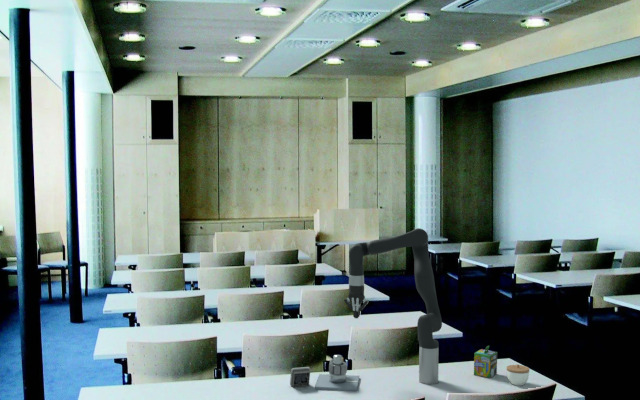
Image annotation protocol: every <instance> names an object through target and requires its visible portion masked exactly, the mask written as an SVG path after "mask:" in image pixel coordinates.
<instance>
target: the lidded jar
mask: <svg viewBox="0 0 640 400" xmlns="http://www.w3.org/2000/svg"><path fill="white" fill-rule="evenodd" d="M529 376H530V367H528V366H525V365H520V364H511V365H507V366H506V377H507V379H508V381H509V382H510V384H512V385H514V386H517V387H518V386H524V385H525V384H526V383H527V382H528V381H529Z"/></svg>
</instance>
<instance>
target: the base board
mask: <svg viewBox="0 0 640 400" xmlns="http://www.w3.org/2000/svg"><path fill="white" fill-rule="evenodd" d="M330 362H333V358H329V363H330ZM359 381H360V375H355V374H354V375H351V374H350V375H347V374H346V382H345V383H341V384H335V383H331V382H329V374H325V373H324V374H323V373H321V374H320V373H319V374H318V377H317V379H316V382H315V385H314V390H321V391H322V390H324V391H325V390H326V391H344V390H346V391H347V390H348V391H349V392H357V391H358V387H359Z"/></svg>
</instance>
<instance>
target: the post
mask: <svg viewBox="0 0 640 400" xmlns="http://www.w3.org/2000/svg"><path fill="white" fill-rule="evenodd" d="M332 357H333V358H332V359H333V365H342V357H343V355H341V354H334V355H333V356H332ZM328 373H329V372H328ZM328 375H329V382H331V383H335V384H341V383H345V382H346V375H347V373H345V374H332V373H329V374H328Z"/></svg>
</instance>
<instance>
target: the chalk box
mask: <svg viewBox="0 0 640 400" xmlns="http://www.w3.org/2000/svg"><path fill="white" fill-rule="evenodd" d="M489 349H490V345H487V346H486V347H485V349H483V348H481V349H479V350H477V351H475V352H474V353H473V354H474V357H473V359H474V360H473V375H474V376H477V377H478V376H479V377H484V378H488V379H491V378H492V377H494V376H495V375H497V374H498V351H494V350H489Z"/></svg>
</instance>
